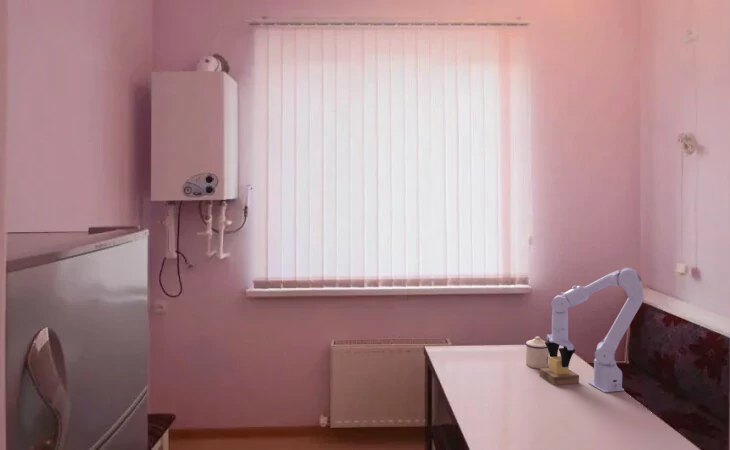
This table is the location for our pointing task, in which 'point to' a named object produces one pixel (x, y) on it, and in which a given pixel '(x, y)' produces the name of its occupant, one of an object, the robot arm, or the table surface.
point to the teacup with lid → (537, 353)
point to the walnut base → (559, 377)
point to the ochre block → (557, 365)
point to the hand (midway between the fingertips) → (559, 363)
